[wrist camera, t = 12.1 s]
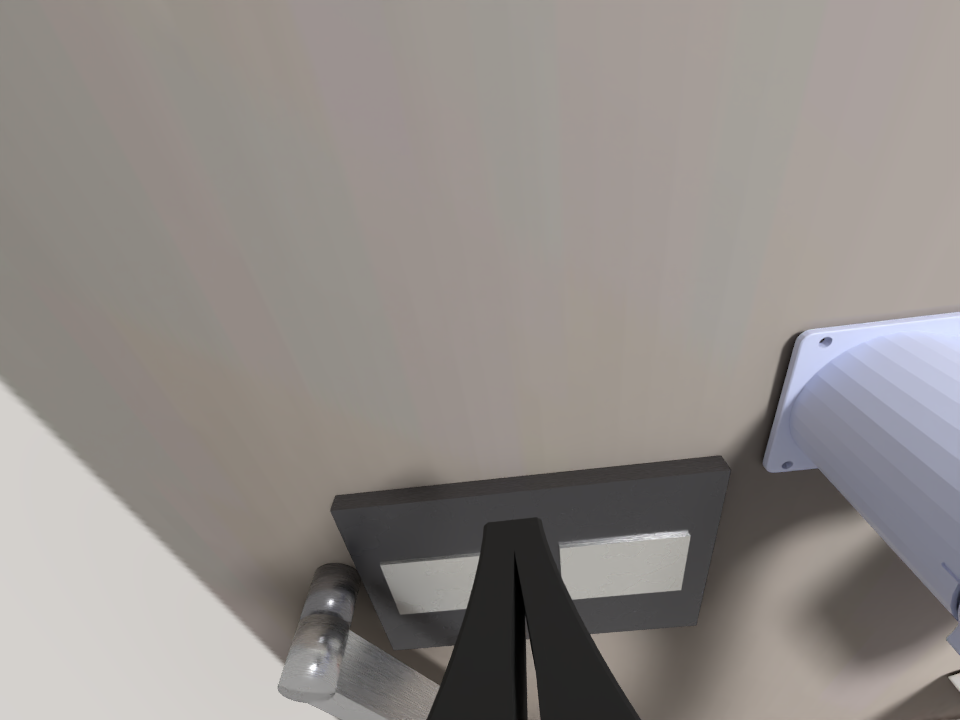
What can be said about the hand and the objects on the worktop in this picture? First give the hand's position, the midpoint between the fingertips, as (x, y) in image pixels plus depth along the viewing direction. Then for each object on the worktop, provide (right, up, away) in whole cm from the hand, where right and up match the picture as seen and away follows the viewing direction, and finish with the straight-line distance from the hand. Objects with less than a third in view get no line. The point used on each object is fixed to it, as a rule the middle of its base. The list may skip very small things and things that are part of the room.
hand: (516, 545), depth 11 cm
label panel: (+1, -8, +16) cm, 17 cm away
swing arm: (-4, -17, +18) cm, 25 cm away
